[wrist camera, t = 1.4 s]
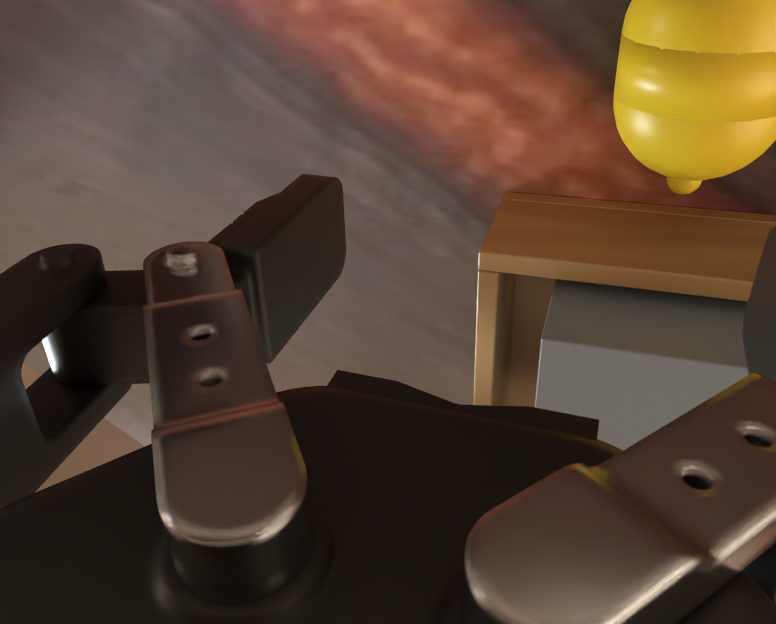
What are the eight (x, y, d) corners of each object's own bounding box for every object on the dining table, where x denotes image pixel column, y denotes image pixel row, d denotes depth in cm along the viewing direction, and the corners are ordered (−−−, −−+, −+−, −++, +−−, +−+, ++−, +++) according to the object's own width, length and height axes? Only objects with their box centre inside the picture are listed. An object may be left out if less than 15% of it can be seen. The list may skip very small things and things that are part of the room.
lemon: (639, -96, 24) (635, -83, 19) (826, -101, 22) (868, -88, 18) (605, 160, 29) (595, 217, 24) (757, 171, 27) (776, 234, 23)
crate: (505, 191, 31) (477, 251, 26) (862, 222, 27) (903, 299, 22) (489, 480, 40) (467, 562, 36) (751, 533, 36) (765, 633, 32)
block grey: (566, 234, 30) (540, 338, 24) (774, 256, 28) (807, 377, 21) (550, 383, 34) (525, 505, 28) (729, 411, 32) (746, 551, 26)
